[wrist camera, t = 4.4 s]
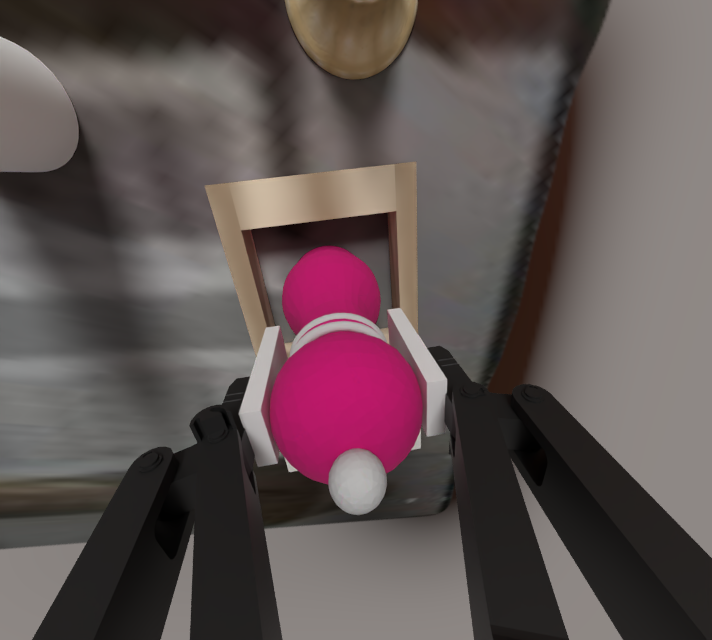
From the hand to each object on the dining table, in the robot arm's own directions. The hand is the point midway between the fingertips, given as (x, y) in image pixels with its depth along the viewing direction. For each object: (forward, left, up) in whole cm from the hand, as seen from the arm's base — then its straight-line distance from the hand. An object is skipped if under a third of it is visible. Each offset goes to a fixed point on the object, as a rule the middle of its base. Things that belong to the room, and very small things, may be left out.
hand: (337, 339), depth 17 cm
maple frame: (0, 0, -10) cm, 10 cm away
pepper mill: (0, 0, -11) cm, 11 cm away
